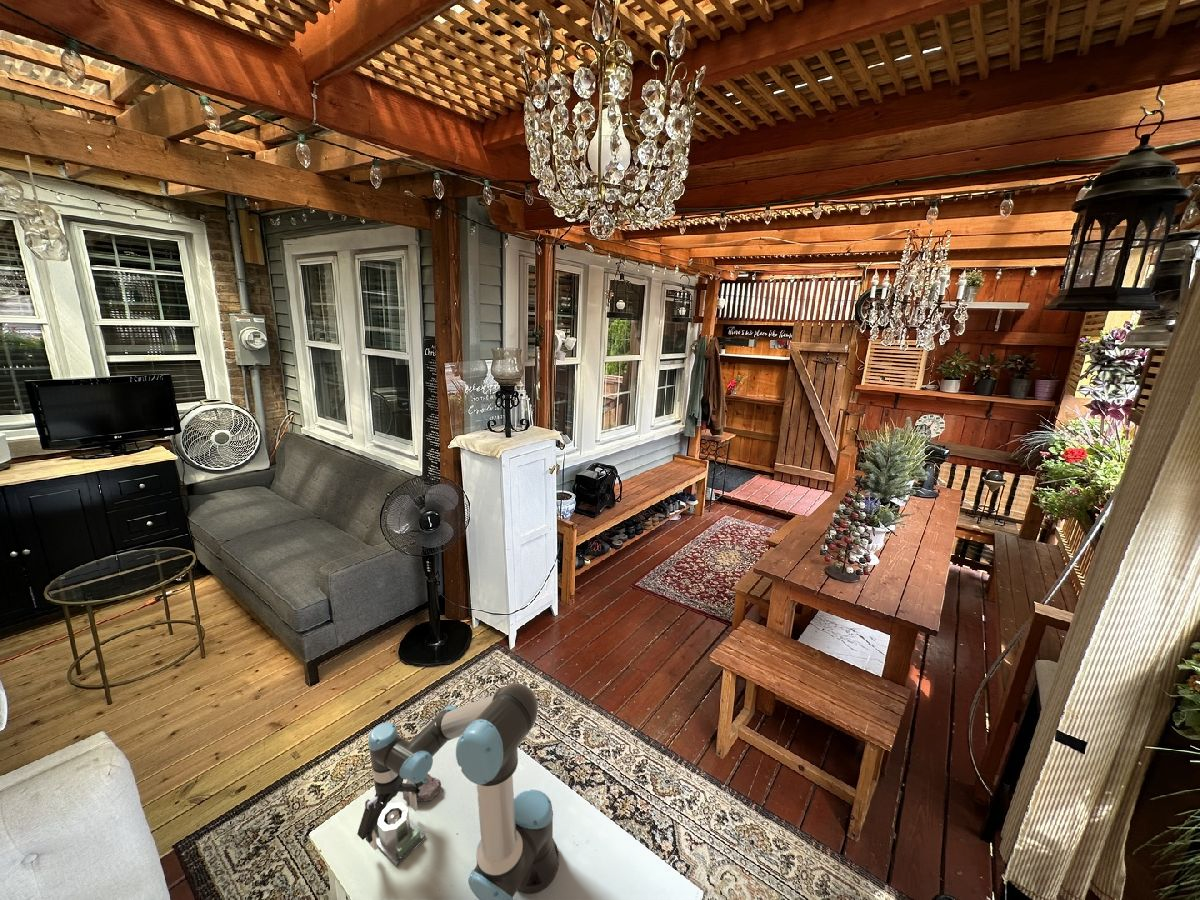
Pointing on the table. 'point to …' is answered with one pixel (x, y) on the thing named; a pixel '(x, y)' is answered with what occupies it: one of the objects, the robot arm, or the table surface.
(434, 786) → the rock
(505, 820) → the robot arm
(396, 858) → the stand
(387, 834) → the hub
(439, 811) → the table surface
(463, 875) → the table surface
